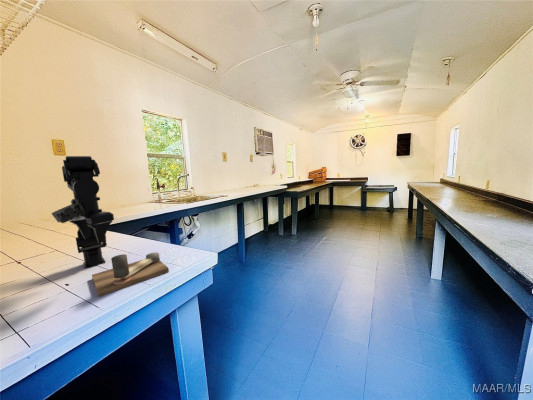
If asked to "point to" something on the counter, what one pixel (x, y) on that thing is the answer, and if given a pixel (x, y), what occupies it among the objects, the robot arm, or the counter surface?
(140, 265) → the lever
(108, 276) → the board
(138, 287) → the counter surface
